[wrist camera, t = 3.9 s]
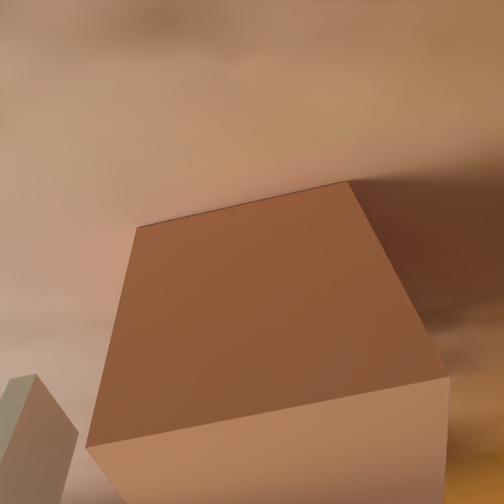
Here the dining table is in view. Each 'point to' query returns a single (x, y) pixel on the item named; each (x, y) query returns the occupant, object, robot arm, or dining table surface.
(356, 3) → the dining table surface
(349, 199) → the tan cardboard-coloured cube
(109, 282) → the dining table surface
